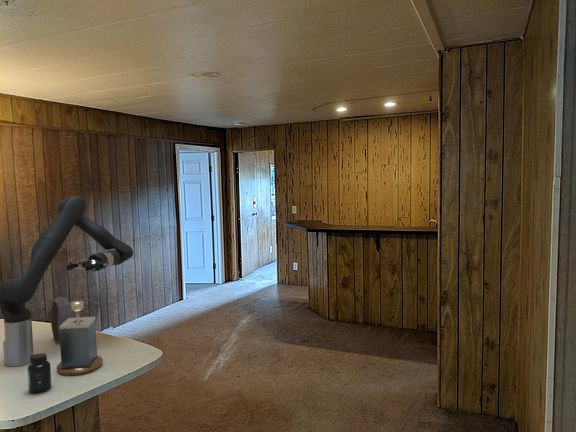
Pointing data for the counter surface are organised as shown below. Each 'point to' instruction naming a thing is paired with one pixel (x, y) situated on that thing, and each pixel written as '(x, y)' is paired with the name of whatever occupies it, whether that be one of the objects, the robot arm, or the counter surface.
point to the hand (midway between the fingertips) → (76, 268)
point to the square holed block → (78, 347)
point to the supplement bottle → (39, 374)
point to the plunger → (77, 308)
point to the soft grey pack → (60, 315)
